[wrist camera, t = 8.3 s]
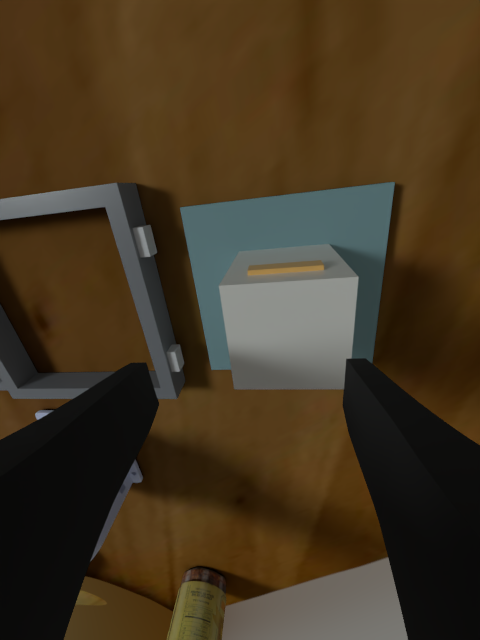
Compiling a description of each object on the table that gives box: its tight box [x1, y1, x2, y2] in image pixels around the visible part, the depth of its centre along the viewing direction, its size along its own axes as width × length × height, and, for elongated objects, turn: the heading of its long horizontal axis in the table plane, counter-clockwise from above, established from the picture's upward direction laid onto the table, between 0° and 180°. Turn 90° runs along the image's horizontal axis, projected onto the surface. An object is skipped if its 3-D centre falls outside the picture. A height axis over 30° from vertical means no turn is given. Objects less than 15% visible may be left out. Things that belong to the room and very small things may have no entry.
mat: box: [180, 182, 395, 370], centre depth 16 cm, size 11×11×1 cm
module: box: [219, 244, 358, 389], centre depth 13 cm, size 5×5×6 cm
